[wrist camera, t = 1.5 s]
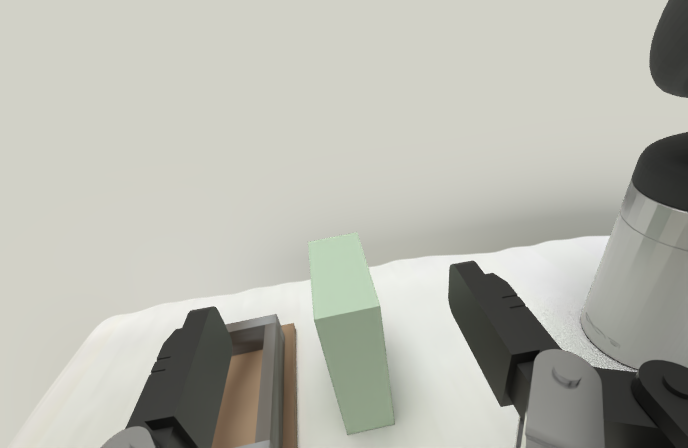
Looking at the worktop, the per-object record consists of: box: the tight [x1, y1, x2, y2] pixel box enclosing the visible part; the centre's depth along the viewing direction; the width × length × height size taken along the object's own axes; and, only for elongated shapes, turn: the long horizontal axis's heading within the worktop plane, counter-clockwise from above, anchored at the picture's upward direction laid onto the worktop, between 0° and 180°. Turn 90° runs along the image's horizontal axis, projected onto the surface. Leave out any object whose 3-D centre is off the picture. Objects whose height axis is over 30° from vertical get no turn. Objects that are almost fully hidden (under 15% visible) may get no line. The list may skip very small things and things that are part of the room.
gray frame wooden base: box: [211, 314, 297, 448], centre depth 32 cm, size 12×18×5 cm, turn 8°
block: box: [308, 232, 395, 435], centre depth 30 cm, size 4×9×16 cm, turn 8°
